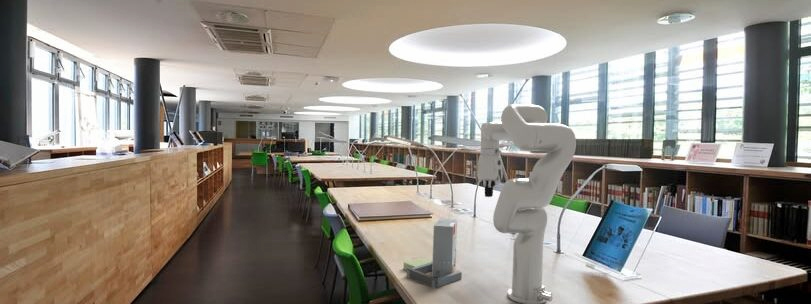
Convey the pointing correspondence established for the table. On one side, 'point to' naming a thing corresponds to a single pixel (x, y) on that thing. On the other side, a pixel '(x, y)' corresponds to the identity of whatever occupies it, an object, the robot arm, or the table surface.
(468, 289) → the table surface
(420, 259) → the light green block
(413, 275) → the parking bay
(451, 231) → the hard drive box
